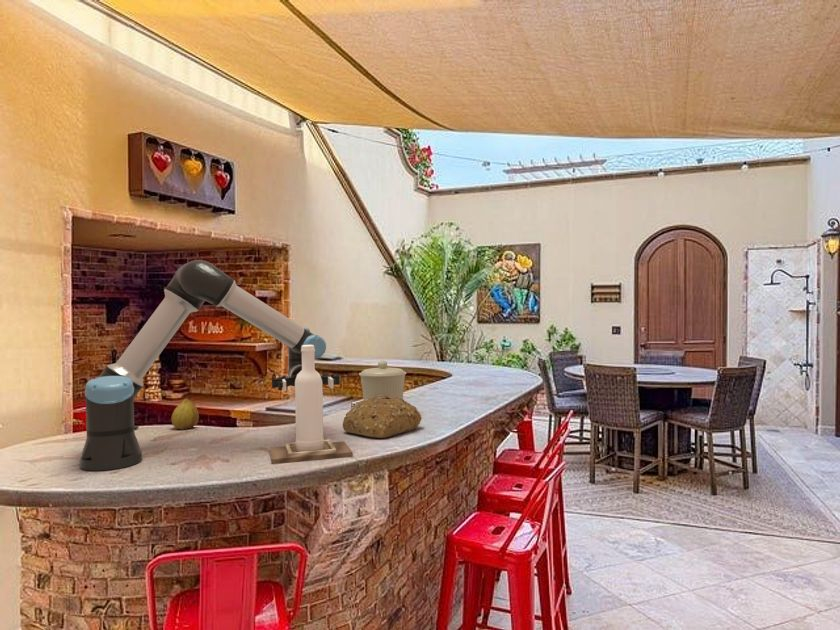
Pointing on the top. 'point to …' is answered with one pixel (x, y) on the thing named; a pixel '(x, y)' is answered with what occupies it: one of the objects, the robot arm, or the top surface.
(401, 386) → the canister
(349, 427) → the bread
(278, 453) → the serving board
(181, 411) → the fruit
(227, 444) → the top surface
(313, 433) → the bottle
